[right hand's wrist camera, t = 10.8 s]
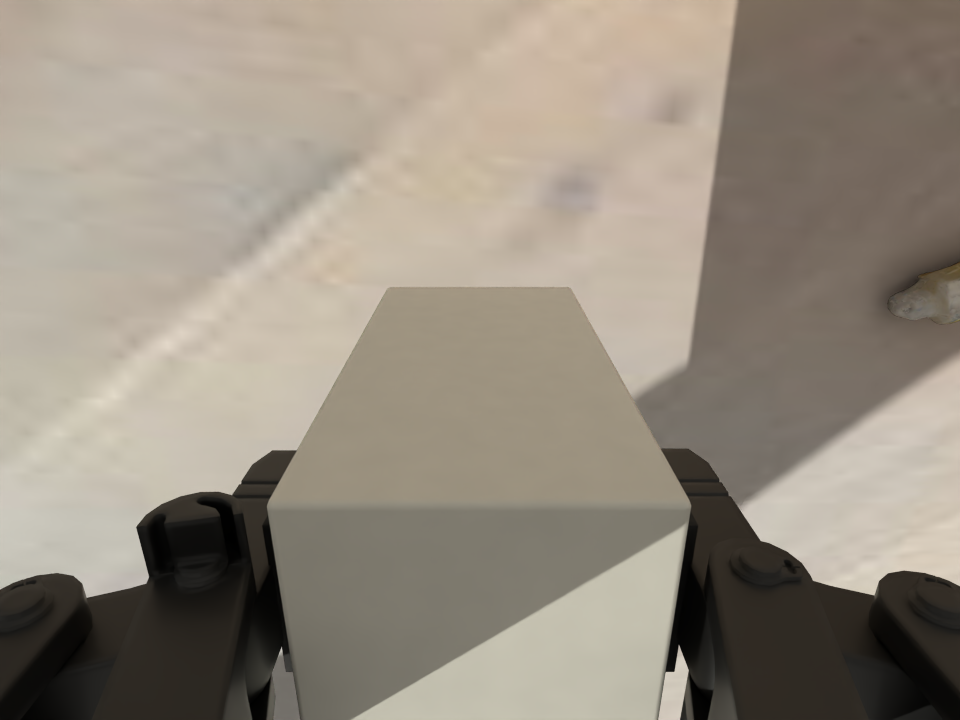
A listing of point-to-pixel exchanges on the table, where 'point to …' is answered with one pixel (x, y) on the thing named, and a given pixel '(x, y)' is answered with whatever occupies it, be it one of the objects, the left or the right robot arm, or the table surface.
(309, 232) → the table surface
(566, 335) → the bar
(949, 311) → the syringe
